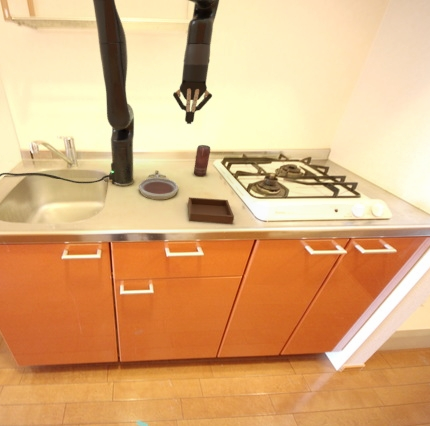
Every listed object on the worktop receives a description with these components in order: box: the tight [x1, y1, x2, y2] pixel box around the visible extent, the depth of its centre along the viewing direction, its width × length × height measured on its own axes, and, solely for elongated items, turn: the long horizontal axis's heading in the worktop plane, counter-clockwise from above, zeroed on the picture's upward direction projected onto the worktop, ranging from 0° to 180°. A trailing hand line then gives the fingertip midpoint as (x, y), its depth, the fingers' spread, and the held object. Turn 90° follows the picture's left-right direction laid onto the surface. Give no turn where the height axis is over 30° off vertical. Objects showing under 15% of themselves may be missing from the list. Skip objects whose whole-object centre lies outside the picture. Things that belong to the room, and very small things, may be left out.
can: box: [193, 144, 211, 178], centre depth 109 cm, size 6×6×14 cm
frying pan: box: [138, 169, 179, 201], centre depth 102 cm, size 17×3×28 cm
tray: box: [187, 196, 235, 225], centre depth 83 cm, size 15×12×3 cm
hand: (188, 123), depth 78 cm, fingers closed
